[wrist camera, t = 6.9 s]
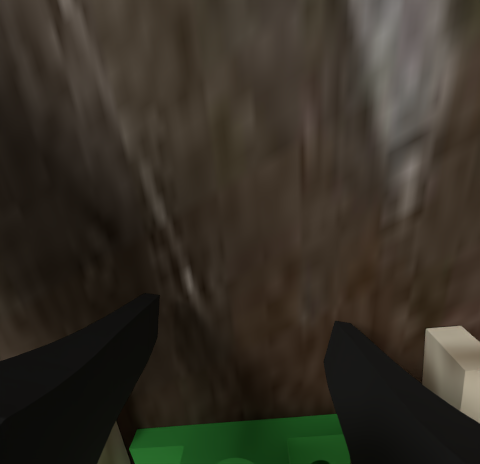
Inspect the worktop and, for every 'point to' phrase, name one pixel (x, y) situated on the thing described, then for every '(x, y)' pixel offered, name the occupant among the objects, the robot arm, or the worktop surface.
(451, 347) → the frame
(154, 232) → the worktop surface
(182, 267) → the worktop surface
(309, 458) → the pipe clamp
